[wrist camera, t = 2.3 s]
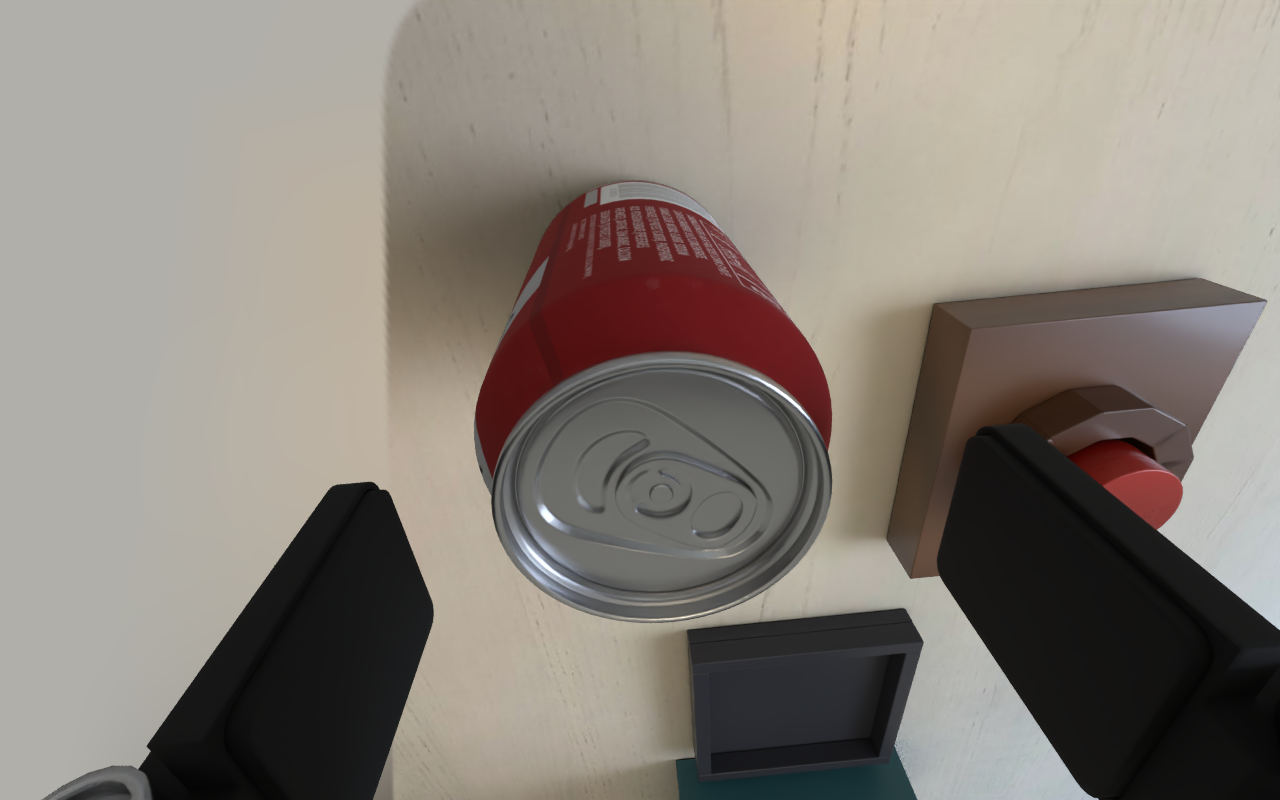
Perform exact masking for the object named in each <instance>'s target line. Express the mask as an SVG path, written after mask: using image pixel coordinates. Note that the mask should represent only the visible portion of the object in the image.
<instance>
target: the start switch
mask: <svg viewBox="0 0 1280 800" xmlns="http://www.w3.org/2000/svg"><path fill="white" fill-rule="evenodd" d="M1266 303H1267V300H1265V299H1262V298H1259V297H1256V296H1253V295H1250V294H1247V293H1244V292H1241V291H1238V290H1235V289H1232V288H1229V287H1226V286H1223V285H1220V284H1217V283H1214V282H1211V281H1208V280H1205V279H1202V278H1200V279H1190V280H1179V281H1169V282H1158V283H1148V284H1137V285H1127V286H1117V287H1106V288H1096V289H1085V290H1075V291H1064V292H1054V293H1044V294H1033V295H1023V296H1012V297H1002V298H991V299H981V300H971V301H960V302H950V303H939V304H934V309H933V314H932V318H931V323H930V328H929V333H928V338H927V343H926V348H925V353H924V358H923V363H922V368H921V373H920V378H919V383H918V388H917V393H916V398H915V403H914V408H913V412H912V417H911V422H910V427H909V432H908V437H907V442H906V447H905V452H904V457H903V462H902V467H901V472H900V477H899V482H898V487H897V492H896V497H895V502H894V507H893V511H892V516H891V521H890V526H889V531H888V536H887V541H888V543H889V545H890V546H891V548H892V550H893V551H894V553H895V555H896V556H897V558H898V559H899V561H900V563H901V564H902V566H903V568H904V569H905V571H906V573H907V574H908V576H909V578H910V579H913V578H923V577H934V576H940V575H939V572H938V568H937V555H938V551H939V547H940V543H941V539H942V535H943V531H944V527H945V523H946V520H947V516H948V512H949V508H950V504H951V500H952V496H953V492H954V488H955V485H956V481H957V477H958V473H959V469H960V465H961V461H962V457H963V453H964V449H965V446H966V443H967V441H968V439H969V438H970V437H973V436H975V435H976V433H977V431H978V430H979V429H980V428H982V427H985V426H993V425H1004V424H1015V423H1021V424H1025V425H1027V426H1029V427H1031V428H1032V429H1033V430H1034V431H1035V432H1037V433H1038V434H1039V435H1040V436H1042V437H1043V438H1044V439H1045V440H1047V441H1048V442H1049V443H1050V444H1051V445H1053V446H1054V447H1055V448H1056V449H1058V450H1059V451H1060V452H1061V453H1062V454H1064V455H1065V456H1068V455H1070V454H1072V453H1075V452H1077V451H1079V450H1081V449H1083V448H1085V447H1087V446H1089V445H1091V444H1093V443H1095V442H1098V441H1103V440H1119V441H1124V442H1127V443H1129V444H1131V445H1133V446H1134V447H1136V448H1137V449H1138V450H1140V451H1141V452H1143V453H1144V454H1146V455H1147V456H1148V457H1150V458H1151V459H1153V460H1154V461H1156V462H1157V463H1159V464H1160V465H1161V466H1163V467H1164V468H1166V469H1167V470H1169V471H1170V472H1171V473H1173V474H1174V475H1175V476H1177V477H1178V479H1179V480H1180V482H1181V481H1182V479H1183V478H1184V476H1185V474H1186V472H1187V470H1188V468H1189V466H1190V465H1191V463H1192V461H1193V457H1194V456H1193V450H1192V444H1193V442H1194V440H1195V438H1196V437H1197V435H1198V433H1199V431H1200V429H1201V427H1202V425H1203V423H1204V421H1205V419H1206V418H1207V416H1208V414H1209V412H1210V410H1211V408H1212V406H1213V404H1214V402H1215V400H1216V398H1217V397H1218V395H1219V393H1220V391H1221V389H1222V387H1223V385H1224V383H1225V381H1226V379H1227V378H1228V376H1229V374H1230V372H1231V370H1232V368H1233V366H1234V364H1235V362H1236V360H1237V358H1238V357H1239V355H1240V353H1241V351H1242V349H1243V347H1244V345H1245V343H1246V341H1247V339H1248V338H1249V336H1250V334H1251V332H1252V330H1253V328H1254V326H1255V324H1256V322H1257V320H1258V318H1259V317H1260V315H1261V313H1262V311H1263V309H1264V307H1265V305H1266Z"/></svg>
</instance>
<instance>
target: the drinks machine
mask: <svg viewBox="0 0 1280 800" xmlns="http://www.w3.org/2000/svg"><path fill="white" fill-rule="evenodd" d="M676 766H677V778H678V789H679V800H917V798H916V795H915V793H914V791H913V788H912V786H911V784H910V782H909V779H908V777H907V775H906V772H905V770H904V768H903V765H902V763H901V761H900V758H899V756H898V754H897V751H896V749H895V747H894V748H893V751H892V755H891V758H890V762H889V763H888V764H878V765H868V766H858V767H848V768H838V769H828V770H818V771H808V772H798V773H788V774H778V775H768V776H758V777H748V778H738V779H728V780H718V781H708V782H698V776H697V768H696V760H695V759H687V760H677V761H676Z"/></svg>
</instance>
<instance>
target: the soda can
mask: <svg viewBox="0 0 1280 800" xmlns="http://www.w3.org/2000/svg"><path fill="white" fill-rule="evenodd" d="M831 428H832V408H831V398H830V393H829V388H828V384H827V381H826V378H825V375H824V372H823V369H822V367H821V365H820V362H819V360H818V358H817V356H816V354H815V352H814V351H813V349H812V348H811V346H810V344H809V343H808V341H807V340H806V338H805V337H804V336H803V334H802V333H801V332H800V330H799V329H798V328H797V327H796V325H795V324H794V323H793V321H792V320H791V319H790V317H789V316H788V315H787V314H786V312H785V311H784V310H783V308H782V307H781V306H780V304H779V303H778V302H777V301H776V299H775V298H774V297H773V295H772V294H771V293H770V291H769V290H768V289H767V288H766V286H765V285H764V284H763V282H762V281H761V280H760V278H759V277H758V276H757V275H756V273H755V272H754V271H753V269H752V268H751V267H750V265H749V264H748V263H747V261H746V260H745V259H744V258H743V256H742V255H741V254H740V252H739V251H738V250H737V248H736V247H735V246H734V245H733V243H732V242H731V241H730V239H729V238H728V237H727V235H726V234H725V233H724V232H723V230H722V229H721V228H720V226H719V225H718V224H717V222H716V221H715V220H714V219H713V217H712V216H711V215H710V214H709V213H708V212H707V211H706V210H705V209H704V208H703V207H702V206H701V205H700V204H699V203H698V202H696V201H695V200H694V199H693V198H691V197H689V196H688V195H686V194H685V193H683V192H681V191H679V190H677V189H675V188H672V187H670V186H667V185H664V184H660V183H656V182H651V181H644V180H624V181H617V182H612V183H608V184H604V185H601V186H598V187H596V188H593V189H591V190H589V191H587V192H585V193H583V194H581V195H580V196H578V197H577V198H575V199H574V200H572V201H571V202H570V203H569V204H567V205H566V206H565V207H564V208H563V209H562V210H561V211H560V212H559V213H558V214H557V215H556V217H555V218H554V219H553V220H552V222H551V223H550V225H549V226H548V228H547V229H546V231H545V233H544V235H543V237H542V239H541V241H540V243H539V246H538V248H537V251H536V253H535V255H534V258H533V260H532V263H531V265H530V268H529V270H528V273H527V275H526V278H525V280H524V282H523V285H522V287H521V290H520V292H519V295H518V297H517V300H516V302H515V305H514V307H513V309H512V312H511V314H510V317H509V319H508V322H507V324H506V327H505V329H504V332H503V334H502V336H501V339H500V341H499V344H498V346H497V349H496V351H495V354H494V356H493V359H492V361H491V363H490V366H489V368H488V371H487V373H486V376H485V379H484V381H483V384H482V386H481V389H480V393H479V397H478V401H477V405H476V412H475V420H474V440H475V449H476V455H477V460H478V464H479V468H480V471H481V473H482V476H483V479H484V482H485V484H486V486H487V488H488V490H489V492H490V494H491V496H492V497H491V504H492V514H493V520H494V524H495V528H496V531H497V534H498V537H499V539H500V542H501V544H502V546H503V548H504V549H505V551H506V553H507V555H508V556H509V558H510V559H511V561H512V562H513V563H514V565H515V566H516V567H517V568H518V569H519V571H520V572H521V573H522V574H523V575H524V576H525V577H526V578H527V579H528V580H529V581H530V582H532V583H533V584H534V585H535V586H537V587H538V588H539V589H540V590H542V591H543V592H545V593H546V594H548V595H549V596H551V597H552V598H554V599H556V600H558V601H560V602H562V603H563V604H566V605H568V606H570V607H572V608H575V609H577V610H580V611H583V612H586V613H588V614H592V615H595V616H599V617H603V618H608V619H613V620H619V621H627V622H639V623H663V622H675V621H683V620H689V619H694V618H699V617H703V616H707V615H711V614H714V613H718V612H720V611H723V610H726V609H729V608H731V607H734V606H736V605H739V604H741V603H743V602H745V601H747V600H749V599H751V598H753V597H755V596H757V595H758V594H760V593H762V592H763V591H765V590H766V589H768V588H769V587H771V586H772V585H774V584H775V583H776V582H778V581H779V580H780V579H781V578H783V577H784V576H785V575H786V574H787V573H789V572H790V571H791V570H792V569H793V568H794V567H795V566H796V565H797V564H798V563H799V561H800V560H801V559H802V558H803V557H804V555H805V554H806V553H807V552H808V550H809V549H810V547H811V546H812V545H813V543H814V542H815V540H816V538H817V536H818V534H819V533H820V531H821V529H822V526H823V524H824V522H825V519H826V516H827V513H828V509H829V506H830V500H831V494H832V472H831V464H830V460H829V455H828V448H829V443H830V437H831Z"/></svg>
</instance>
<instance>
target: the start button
mask: <svg viewBox="0 0 1280 800" xmlns="http://www.w3.org/2000/svg"><path fill="white" fill-rule="evenodd" d="M1066 457H1067V458H1069V459H1070V460H1071V461H1072V462H1074V463H1075V464H1076V465H1077V466H1078V467H1080V468H1081V469H1082V470H1083V471H1085V472H1086V473H1087V474H1088V475H1089V476H1091V477H1092V478H1093V479H1094V480H1096V481H1097V482H1098V483H1099V484H1101V485H1102V486H1103V487H1104V488H1105V489H1107V490H1108V491H1109V492H1110V493H1112V494H1113V495H1114V496H1115V497H1117V498H1118V499H1119V500H1120V501H1121V502H1123V503H1124V504H1125V505H1126V506H1128V507H1129V508H1130V509H1131V510H1132V511H1134V512H1135V513H1136V514H1137V515H1139V516H1140V517H1141V518H1142V519H1144V520H1145V521H1146V522H1147V523H1148V524H1150V525H1151V526H1152V527H1153V528H1155V529H1156V530H1157V529H1159V528H1160V527H1161V526H1162V525H1163V524H1165V523H1166V522H1167V521H1168V520H1169V519H1170V518H1171V516H1172V515H1173V514H1174V513H1175V511H1176V510H1177V508H1178V506H1179V504H1180V502H1181V499H1182V495H1183V487H1182V484H1181V482H1180V480H1179V479H1178V477H1177V476H1175V475H1174V474H1173V473H1171V472H1170V471H1169V470H1167V469H1166V468H1164V467H1163V466H1161V465H1160V464H1159V463H1157V462H1156V461H1154V460H1153V459H1151V458H1150V457H1148V456H1147V455H1146V454H1144V453H1143V452H1141V451H1140V450H1138V449H1137V448H1136V447H1134V446H1133V445H1131V444H1129V443H1127V442H1124V441H1119V440H1103V441H1098V442H1095V443H1093V444H1091V445H1089V446H1087V447H1085V448H1083V449H1081V450H1079V451H1077V452H1075V453H1072V454H1070V455H1068V456H1066Z"/></svg>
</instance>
